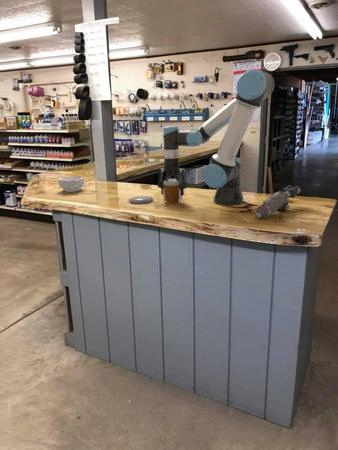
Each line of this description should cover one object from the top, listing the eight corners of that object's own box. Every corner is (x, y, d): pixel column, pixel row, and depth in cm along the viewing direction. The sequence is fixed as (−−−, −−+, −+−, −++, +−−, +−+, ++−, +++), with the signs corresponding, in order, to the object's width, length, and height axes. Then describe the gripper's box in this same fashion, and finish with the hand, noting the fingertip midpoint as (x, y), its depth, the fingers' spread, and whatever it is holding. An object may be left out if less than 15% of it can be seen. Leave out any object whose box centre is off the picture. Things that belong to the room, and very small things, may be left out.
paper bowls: (87, 188, 238) (86, 175, 236) (80, 193, 224) (78, 180, 221) (65, 188, 240) (63, 176, 237) (56, 193, 225) (54, 180, 223)
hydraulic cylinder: (301, 200, 181) (301, 181, 177) (264, 230, 158) (263, 208, 154) (287, 198, 186) (287, 179, 182) (249, 227, 163) (248, 206, 159)
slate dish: (156, 198, 203) (156, 196, 203) (147, 204, 192) (147, 202, 191) (134, 197, 208) (134, 195, 207) (124, 203, 196) (124, 201, 195)
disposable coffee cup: (180, 205, 189) (179, 181, 185) (162, 204, 191) (161, 181, 187) (183, 200, 198) (182, 178, 194) (165, 200, 200) (165, 178, 196)
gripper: (193, 156, 187) (193, 200, 194) (155, 156, 194) (156, 198, 201) (189, 158, 180) (189, 203, 187) (149, 158, 187) (151, 201, 194)
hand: (172, 201), depth 194 cm, fingers closed on disposable coffee cup, 8 cm apart
